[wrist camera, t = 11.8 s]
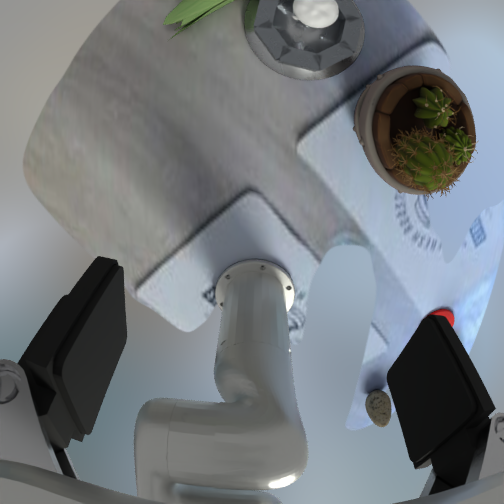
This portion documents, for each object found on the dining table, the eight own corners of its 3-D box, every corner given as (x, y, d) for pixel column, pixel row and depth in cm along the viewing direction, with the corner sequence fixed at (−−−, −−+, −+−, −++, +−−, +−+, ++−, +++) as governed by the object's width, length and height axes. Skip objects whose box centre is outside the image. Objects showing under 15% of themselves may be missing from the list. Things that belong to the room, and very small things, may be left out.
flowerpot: (397, 47, 31) (491, 34, 14) (450, 138, 37) (544, 183, 20) (315, 103, 36) (364, 119, 19) (378, 191, 42) (446, 267, 25)
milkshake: (273, 20, 30) (278, 0, 22) (308, 1, 29) (324, -23, 20) (295, 48, 32) (307, 36, 23) (330, 28, 30) (352, 12, 22)
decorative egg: (357, 396, 66) (365, 431, 57) (374, 382, 63) (384, 418, 55) (374, 400, 67) (383, 433, 59) (391, 387, 65) (401, 421, 56)
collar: (349, 94, 35) (357, 95, 32) (233, 66, 34) (231, 64, 31) (371, -3, 28) (381, -10, 25) (257, -34, 27) (257, -44, 24)
